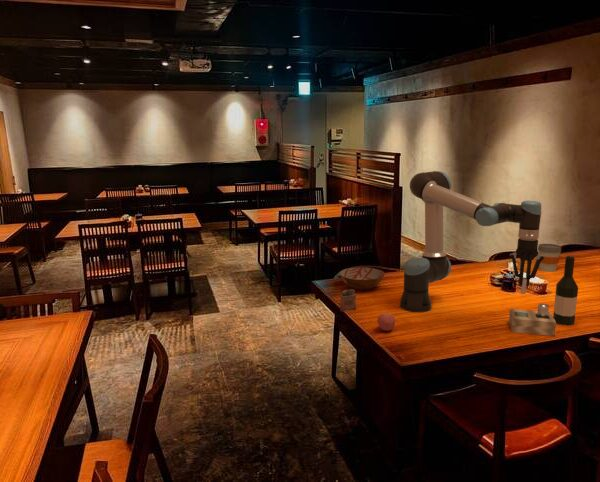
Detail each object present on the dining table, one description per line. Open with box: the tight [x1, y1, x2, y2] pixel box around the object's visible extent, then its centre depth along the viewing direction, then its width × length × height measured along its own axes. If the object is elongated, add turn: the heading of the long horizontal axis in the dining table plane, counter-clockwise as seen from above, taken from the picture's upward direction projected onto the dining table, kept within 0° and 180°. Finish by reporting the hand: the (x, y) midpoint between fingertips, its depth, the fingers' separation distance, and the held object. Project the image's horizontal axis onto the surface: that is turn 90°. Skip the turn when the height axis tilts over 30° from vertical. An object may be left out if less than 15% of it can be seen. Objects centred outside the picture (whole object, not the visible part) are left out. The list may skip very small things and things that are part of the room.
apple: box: [377, 312, 396, 332], centre depth 199 cm, size 7×7×8 cm
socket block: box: [508, 308, 557, 337], centre depth 198 cm, size 16×12×6 cm
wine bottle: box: [552, 254, 579, 326], centre depth 202 cm, size 8×8×30 cm
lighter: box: [339, 288, 357, 312], centre depth 224 cm, size 8×3×10 cm, turn 106°
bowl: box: [338, 266, 386, 291], centre depth 259 cm, size 25×25×8 cm
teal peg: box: [516, 312, 527, 317], centre depth 199 cm, size 4×4×6 cm
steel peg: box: [537, 302, 550, 319], centre depth 195 cm, size 4×4×6 cm
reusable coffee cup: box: [537, 243, 562, 273], centre depth 283 cm, size 12×12×15 cm
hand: (522, 293), depth 196 cm, fingers closed
